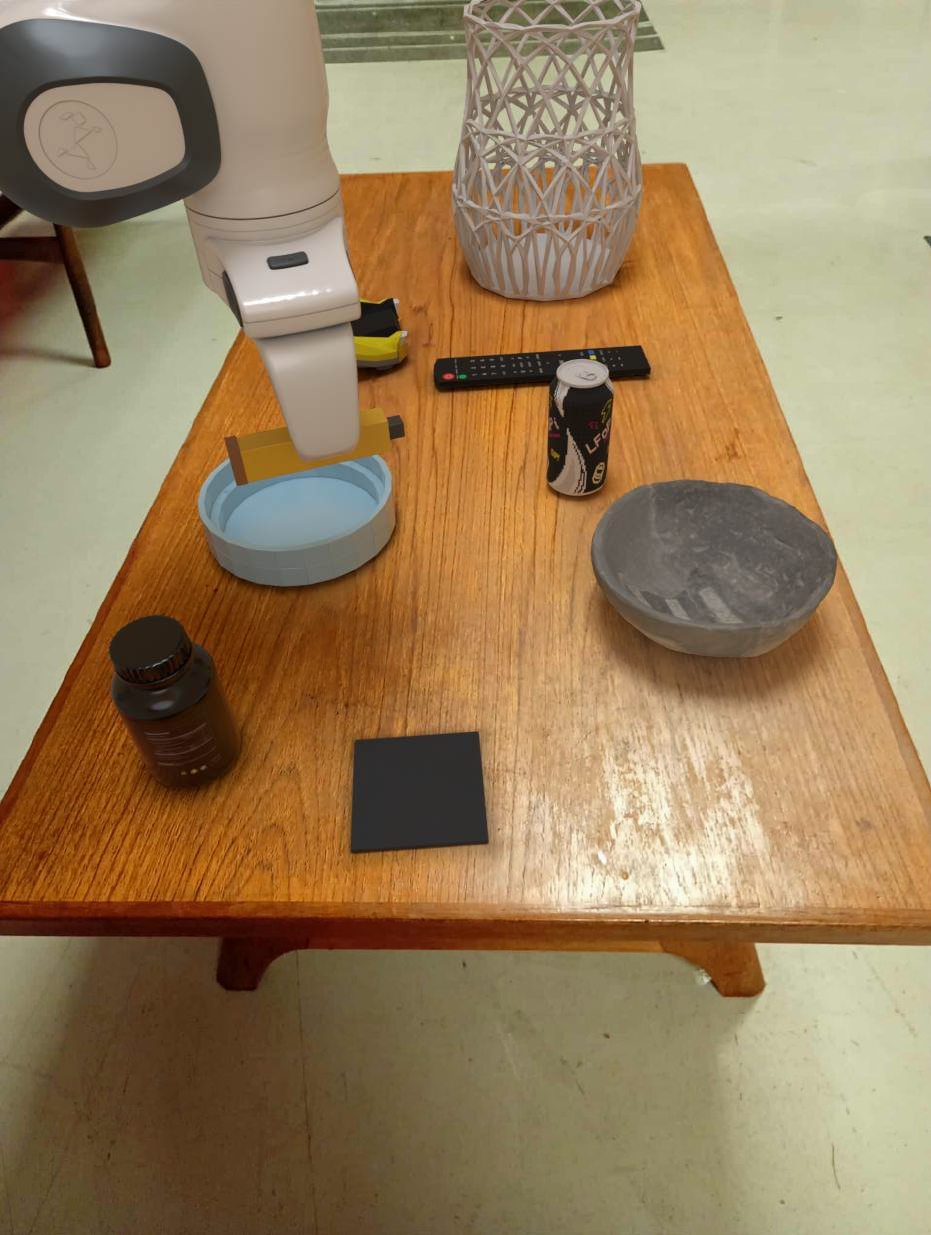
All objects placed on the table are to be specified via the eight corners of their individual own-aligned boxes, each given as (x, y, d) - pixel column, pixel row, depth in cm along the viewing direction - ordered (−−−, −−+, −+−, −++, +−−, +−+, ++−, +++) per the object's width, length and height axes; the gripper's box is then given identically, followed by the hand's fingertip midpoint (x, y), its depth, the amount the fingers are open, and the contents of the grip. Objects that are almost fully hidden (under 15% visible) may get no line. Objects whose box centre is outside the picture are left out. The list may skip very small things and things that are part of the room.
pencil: (236, 486, 61) (228, 453, 59) (232, 470, 63) (223, 437, 61) (407, 448, 64) (404, 415, 62) (399, 433, 65) (396, 401, 63)
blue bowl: (196, 597, 76) (182, 557, 73) (223, 479, 88) (212, 440, 85) (396, 583, 76) (391, 543, 73) (395, 467, 89) (391, 429, 86)
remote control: (649, 379, 99) (650, 368, 98) (434, 393, 98) (434, 382, 98) (639, 356, 103) (641, 345, 102) (433, 369, 102) (432, 358, 101)
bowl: (548, 581, 76) (551, 507, 70) (720, 524, 81) (736, 449, 75) (664, 732, 64) (678, 656, 58) (858, 654, 69) (889, 577, 63)
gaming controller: (327, 388, 100) (415, 377, 101) (320, 343, 96) (411, 332, 97) (318, 327, 111) (398, 318, 112) (311, 284, 107) (394, 275, 108)
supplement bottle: (142, 733, 66) (87, 618, 57) (234, 705, 67) (194, 590, 59) (153, 806, 61) (95, 693, 53) (251, 775, 63) (210, 660, 54)
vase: (632, 233, 128) (656, -20, 107) (637, 310, 111) (666, 27, 90) (465, 232, 130) (456, -15, 109) (445, 308, 113) (429, 32, 92)
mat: (351, 853, 58) (350, 850, 58) (355, 743, 64) (354, 739, 64) (488, 843, 58) (488, 839, 58) (478, 734, 65) (478, 730, 64)
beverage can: (580, 509, 83) (588, 395, 74) (533, 485, 86) (536, 373, 77) (617, 481, 86) (629, 369, 77) (571, 459, 89) (577, 348, 80)
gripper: (196, 192, 58) (240, 380, 68) (246, 326, 45) (293, 538, 54) (290, 178, 60) (321, 364, 70) (367, 303, 46) (392, 515, 56)
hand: (309, 442), depth 62 cm, fingers closed on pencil, 2 cm apart
